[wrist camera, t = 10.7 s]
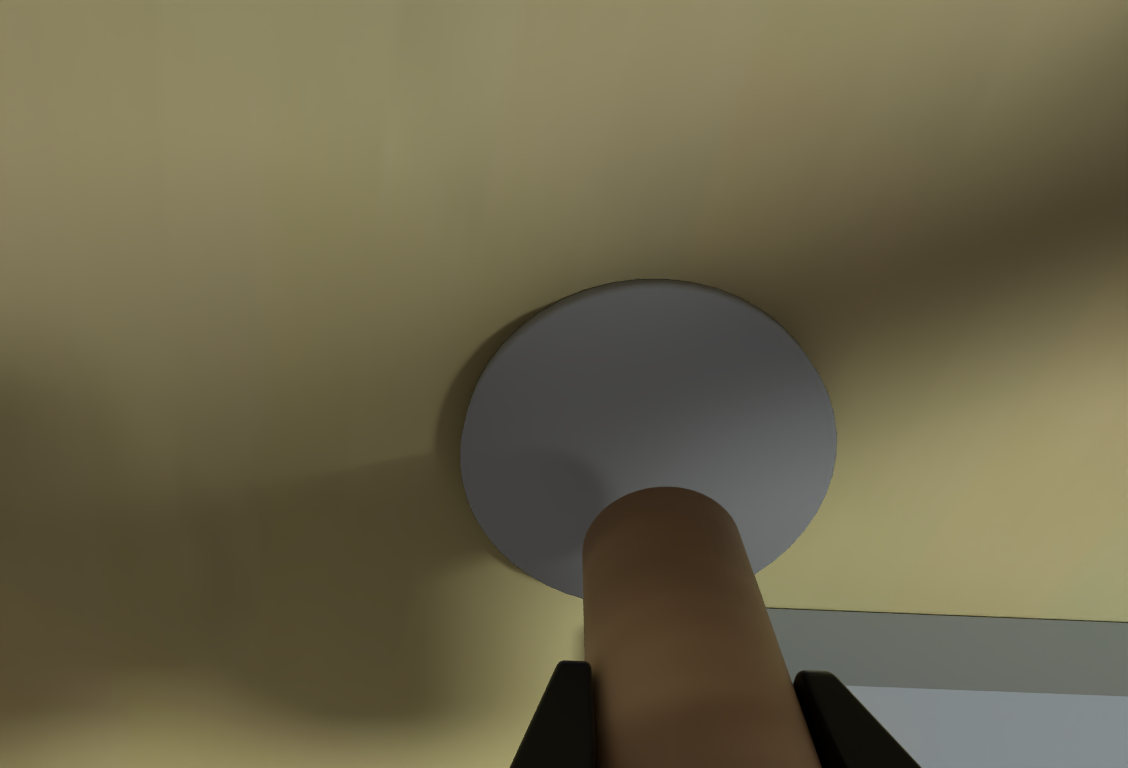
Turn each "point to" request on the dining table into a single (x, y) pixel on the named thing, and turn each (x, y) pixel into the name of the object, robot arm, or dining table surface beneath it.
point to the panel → (976, 683)
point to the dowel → (683, 642)
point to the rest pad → (644, 422)
